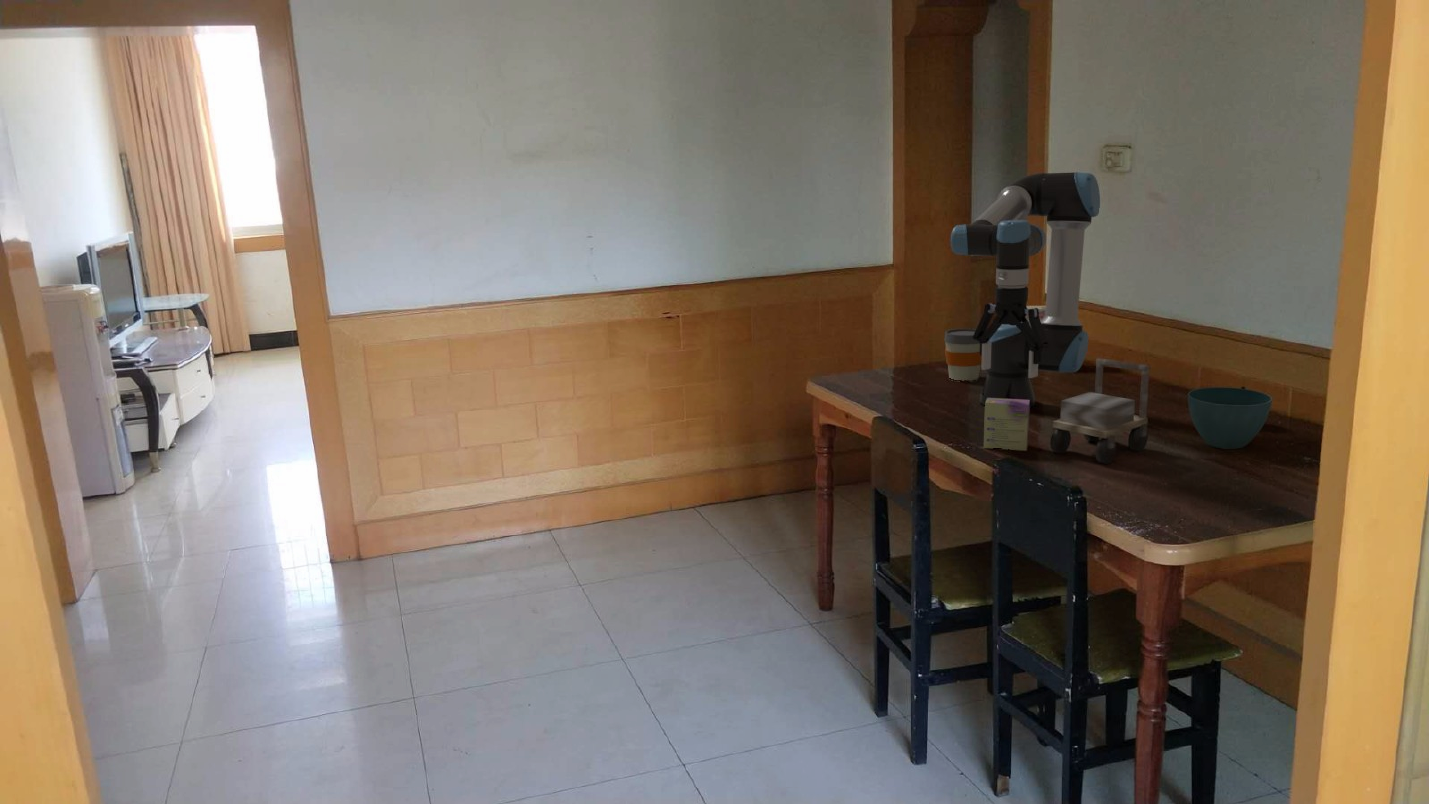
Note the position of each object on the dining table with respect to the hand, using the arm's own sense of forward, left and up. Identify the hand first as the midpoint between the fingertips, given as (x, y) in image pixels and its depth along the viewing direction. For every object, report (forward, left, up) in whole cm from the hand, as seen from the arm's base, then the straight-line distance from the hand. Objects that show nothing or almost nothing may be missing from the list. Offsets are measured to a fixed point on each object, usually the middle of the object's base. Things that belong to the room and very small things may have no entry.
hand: (1009, 373), depth 256 cm
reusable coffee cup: (-55, +53, -19) cm, 79 cm away
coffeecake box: (-49, +86, -19) cm, 101 cm away
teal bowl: (+36, +38, -19) cm, 56 cm away
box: (0, 0, -19) cm, 19 cm away
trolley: (+18, +12, -19) cm, 28 cm away
